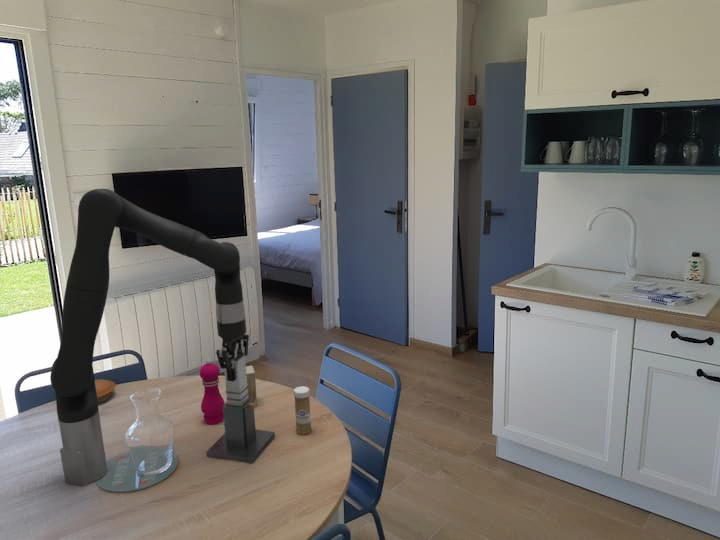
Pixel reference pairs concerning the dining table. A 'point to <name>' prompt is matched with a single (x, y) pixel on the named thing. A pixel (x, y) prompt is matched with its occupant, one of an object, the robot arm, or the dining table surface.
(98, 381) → the pie
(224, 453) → the base
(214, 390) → the pepper mill
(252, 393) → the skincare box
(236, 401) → the post
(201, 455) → the dining table surface
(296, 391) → the sprinkles bottle
